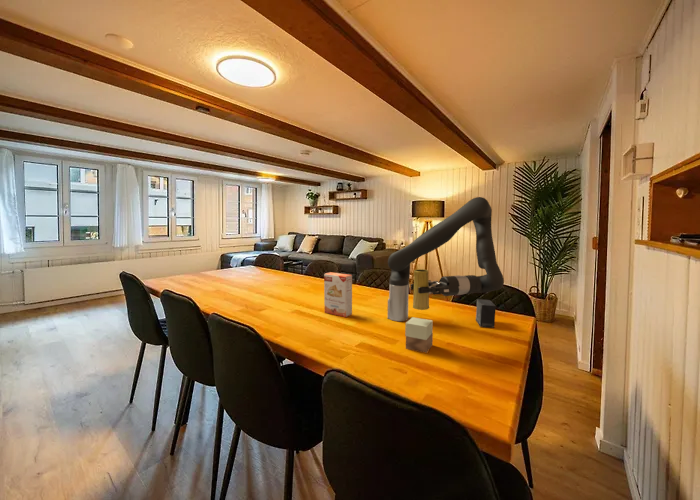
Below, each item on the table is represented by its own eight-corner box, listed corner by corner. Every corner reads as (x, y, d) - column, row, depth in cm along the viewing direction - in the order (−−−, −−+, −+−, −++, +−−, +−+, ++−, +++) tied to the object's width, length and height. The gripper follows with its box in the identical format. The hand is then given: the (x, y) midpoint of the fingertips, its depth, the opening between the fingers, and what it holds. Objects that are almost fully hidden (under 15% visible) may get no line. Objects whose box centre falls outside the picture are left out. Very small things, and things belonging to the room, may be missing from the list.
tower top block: (405, 336, 115) (405, 323, 114) (412, 329, 122) (412, 317, 121) (426, 340, 111) (426, 326, 110) (432, 333, 118) (432, 320, 117)
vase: (410, 305, 118) (410, 269, 117) (426, 305, 119) (426, 268, 117) (415, 310, 112) (415, 272, 111) (431, 309, 113) (432, 271, 111)
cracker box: (323, 313, 160) (323, 273, 158) (331, 310, 165) (330, 271, 163) (345, 317, 152) (345, 276, 150) (352, 314, 157) (352, 274, 155)
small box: (495, 328, 136) (496, 305, 135) (480, 327, 138) (480, 304, 137) (489, 320, 147) (490, 299, 146) (475, 320, 148) (476, 298, 147)
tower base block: (405, 348, 115) (405, 336, 115) (412, 341, 122) (412, 329, 122) (426, 353, 111) (427, 340, 111) (432, 345, 118) (432, 333, 118)
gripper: (444, 272, 125) (406, 275, 120) (466, 279, 111) (424, 282, 107) (443, 290, 126) (406, 294, 121) (465, 299, 112) (424, 303, 107)
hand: (415, 288), depth 114 cm, fingers closed on vase, 5 cm apart
